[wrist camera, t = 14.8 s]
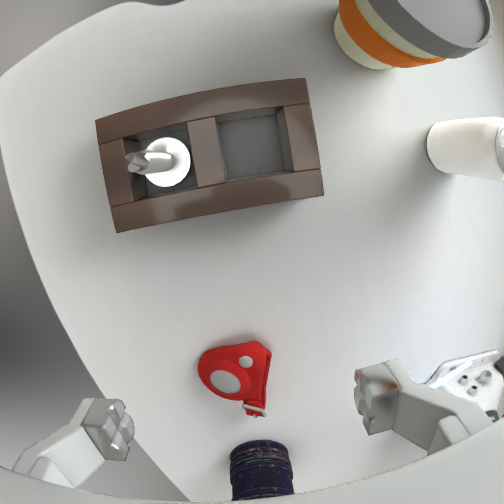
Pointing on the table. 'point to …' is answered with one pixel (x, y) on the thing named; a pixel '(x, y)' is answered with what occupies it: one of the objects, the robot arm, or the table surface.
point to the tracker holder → (238, 374)
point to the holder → (210, 153)
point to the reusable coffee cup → (411, 30)
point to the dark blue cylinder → (260, 470)
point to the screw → (161, 162)
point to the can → (468, 147)
